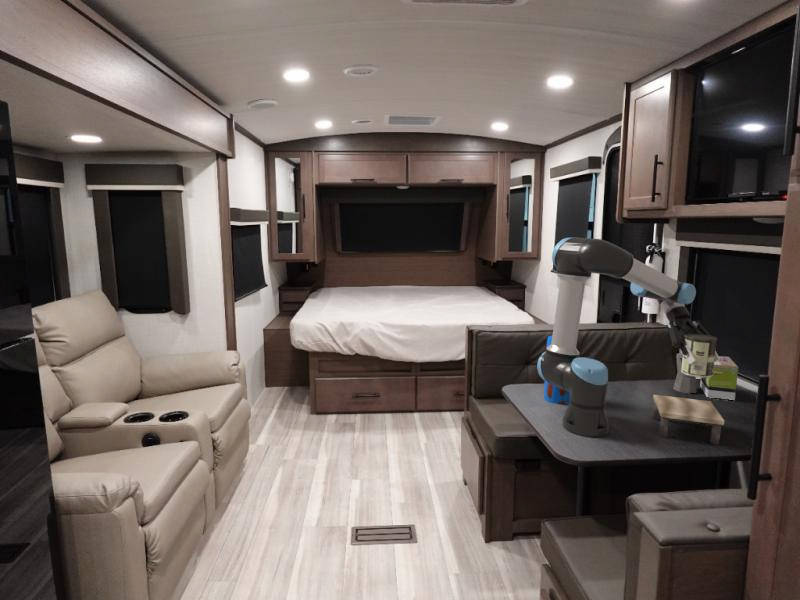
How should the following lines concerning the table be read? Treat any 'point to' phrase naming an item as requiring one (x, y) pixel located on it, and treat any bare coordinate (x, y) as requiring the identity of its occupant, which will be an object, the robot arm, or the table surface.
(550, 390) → the thermos
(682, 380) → the coffeepot
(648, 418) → the table surface
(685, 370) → the coffee can
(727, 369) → the tea box
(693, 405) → the small wooden table
